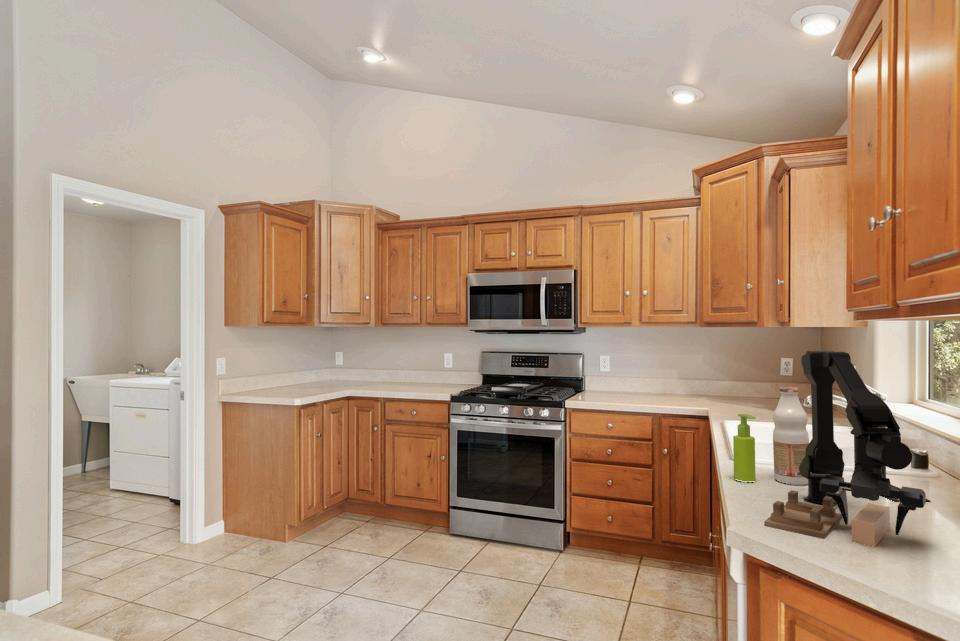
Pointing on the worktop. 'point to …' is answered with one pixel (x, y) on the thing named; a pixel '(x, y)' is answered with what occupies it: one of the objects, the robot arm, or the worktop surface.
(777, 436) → the fruit juice
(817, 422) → the robot arm
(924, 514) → the worktop surface
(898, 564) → the worktop surface
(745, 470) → the soap dispenser
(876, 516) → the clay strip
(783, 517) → the drying rack
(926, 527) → the worktop surface
